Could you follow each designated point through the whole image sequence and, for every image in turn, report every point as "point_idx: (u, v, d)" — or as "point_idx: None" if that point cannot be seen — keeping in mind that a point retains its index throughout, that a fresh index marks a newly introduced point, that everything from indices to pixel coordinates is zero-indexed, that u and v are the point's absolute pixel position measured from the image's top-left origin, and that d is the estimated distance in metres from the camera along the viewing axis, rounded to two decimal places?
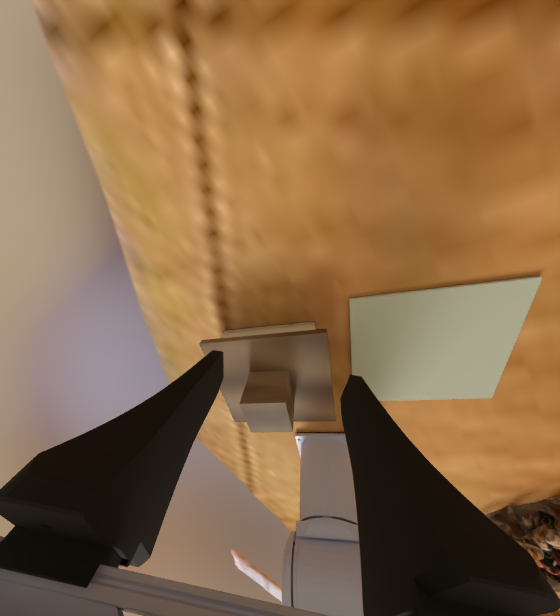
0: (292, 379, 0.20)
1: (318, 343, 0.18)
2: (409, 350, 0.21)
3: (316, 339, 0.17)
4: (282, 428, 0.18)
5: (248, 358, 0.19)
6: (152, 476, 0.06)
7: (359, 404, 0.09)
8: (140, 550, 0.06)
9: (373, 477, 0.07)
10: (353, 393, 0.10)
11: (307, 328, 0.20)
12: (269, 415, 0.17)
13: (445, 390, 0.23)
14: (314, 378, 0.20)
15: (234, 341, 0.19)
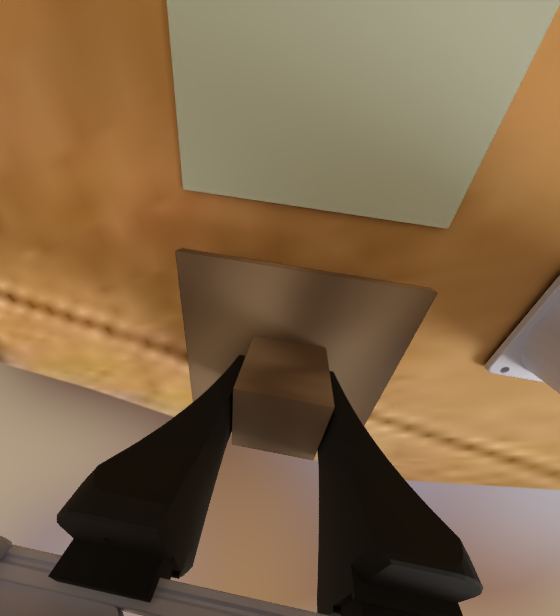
0: (277, 335, 0.11)
1: (198, 271, 0.10)
2: (328, 45, 0.08)
3: (189, 272, 0.10)
4: (315, 417, 0.08)
5: None
6: (199, 486, 0.06)
7: None
8: (186, 560, 0.06)
9: (331, 469, 0.07)
10: None
11: None
12: (270, 422, 0.09)
13: None
14: (283, 300, 0.10)
15: (191, 378, 0.13)
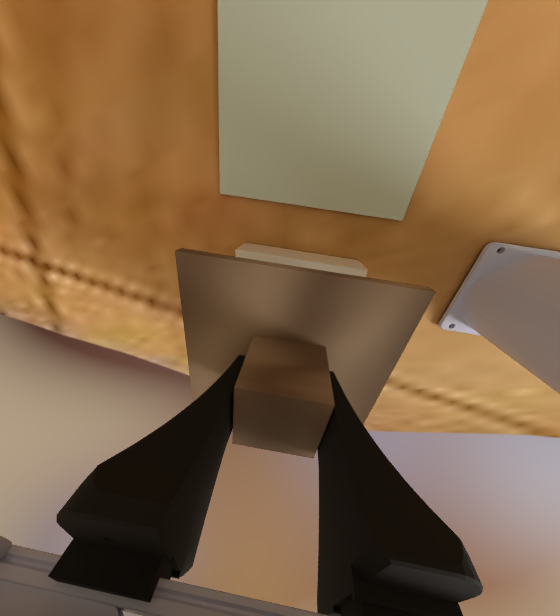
0: (277, 335, 0.11)
1: (198, 271, 0.10)
2: (318, 105, 0.13)
3: (189, 272, 0.10)
4: (315, 415, 0.08)
5: None
6: (199, 486, 0.06)
7: None
8: (185, 560, 0.06)
9: (331, 469, 0.07)
10: None
11: None
12: (270, 421, 0.09)
13: (454, 11, 0.11)
14: (282, 300, 0.10)
15: (191, 378, 0.13)
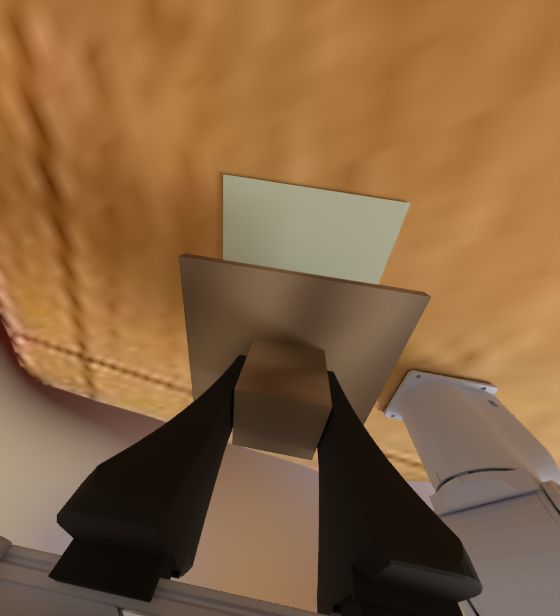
0: (277, 338, 0.11)
1: (201, 276, 0.10)
2: None
3: (192, 277, 0.10)
4: (313, 417, 0.08)
5: None
6: (199, 486, 0.06)
7: None
8: (186, 560, 0.06)
9: (331, 469, 0.07)
10: None
11: None
12: (270, 422, 0.09)
13: (368, 263, 0.17)
14: (282, 304, 0.10)
15: (192, 380, 0.14)
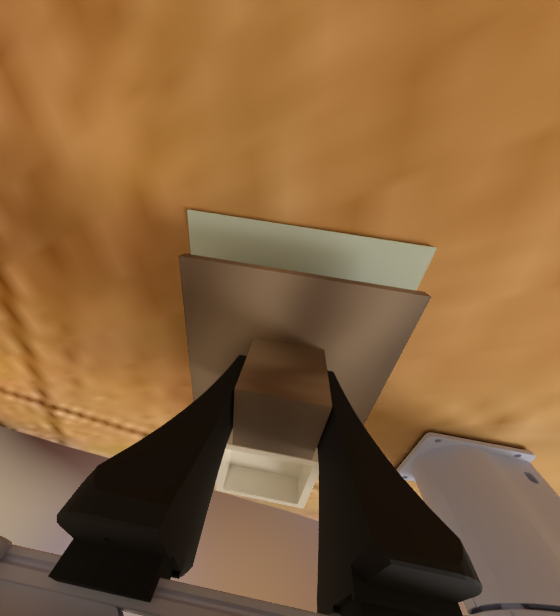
0: (277, 338, 0.11)
1: (201, 275, 0.10)
2: None
3: (192, 276, 0.10)
4: (313, 417, 0.08)
5: None
6: (199, 486, 0.06)
7: None
8: (185, 560, 0.06)
9: (331, 469, 0.07)
10: None
11: None
12: (270, 422, 0.09)
13: None
14: (282, 304, 0.10)
15: (192, 380, 0.13)
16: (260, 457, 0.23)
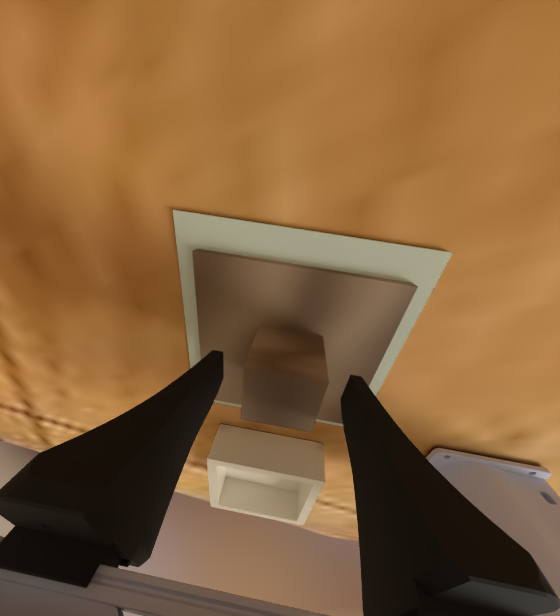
0: (280, 325, 0.12)
1: (212, 268, 0.11)
2: None
3: (204, 269, 0.11)
4: (312, 391, 0.10)
5: (230, 363, 0.14)
6: (152, 476, 0.06)
7: (359, 404, 0.09)
8: (140, 550, 0.06)
9: (373, 477, 0.07)
10: (353, 393, 0.10)
11: None
12: (274, 397, 0.10)
13: None
14: (285, 294, 0.11)
15: None
16: None
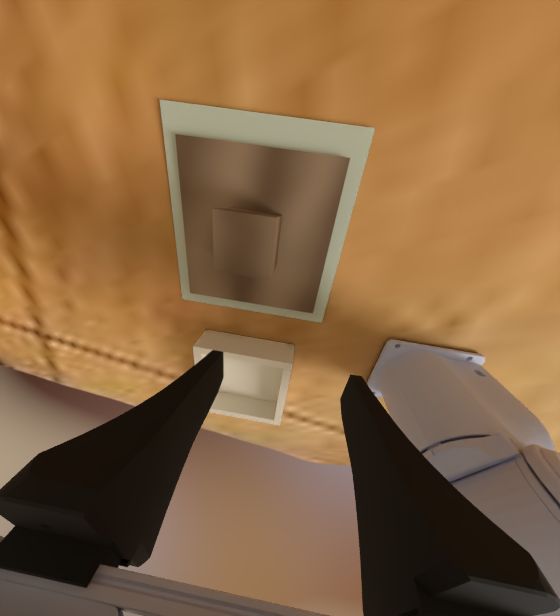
0: (248, 206, 0.15)
1: (191, 150, 0.14)
2: None
3: (185, 152, 0.14)
4: (265, 230, 0.13)
5: (210, 251, 0.17)
6: (152, 476, 0.06)
7: (359, 404, 0.09)
8: (140, 550, 0.06)
9: (373, 477, 0.07)
10: (353, 393, 0.10)
11: None
12: (237, 241, 0.13)
13: None
14: (249, 172, 0.14)
15: (187, 256, 0.18)
16: (240, 380, 0.25)
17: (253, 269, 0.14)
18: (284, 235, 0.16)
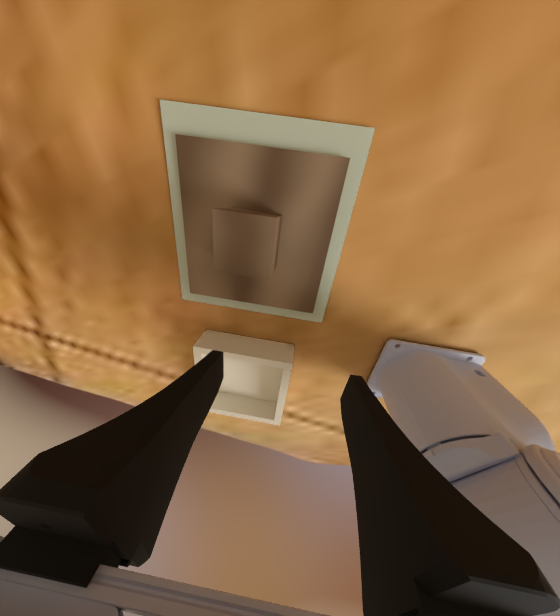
0: (248, 206, 0.15)
1: (191, 150, 0.14)
2: None
3: (185, 152, 0.14)
4: (265, 230, 0.13)
5: (210, 251, 0.17)
6: (152, 476, 0.06)
7: (359, 404, 0.09)
8: (140, 550, 0.06)
9: (373, 477, 0.07)
10: (353, 393, 0.10)
11: None
12: (237, 241, 0.13)
13: None
14: (249, 172, 0.14)
15: (187, 256, 0.18)
16: (240, 380, 0.25)
17: (253, 269, 0.14)
18: (284, 235, 0.16)
